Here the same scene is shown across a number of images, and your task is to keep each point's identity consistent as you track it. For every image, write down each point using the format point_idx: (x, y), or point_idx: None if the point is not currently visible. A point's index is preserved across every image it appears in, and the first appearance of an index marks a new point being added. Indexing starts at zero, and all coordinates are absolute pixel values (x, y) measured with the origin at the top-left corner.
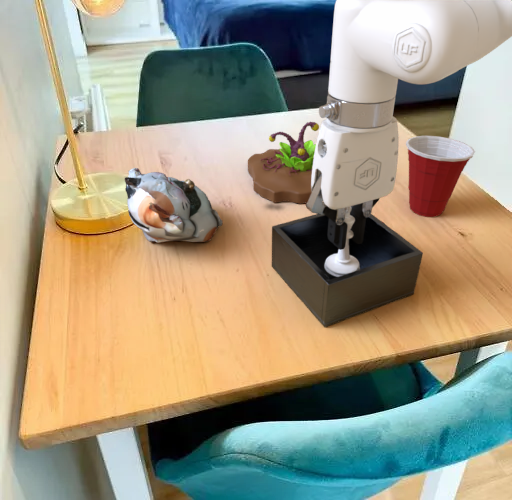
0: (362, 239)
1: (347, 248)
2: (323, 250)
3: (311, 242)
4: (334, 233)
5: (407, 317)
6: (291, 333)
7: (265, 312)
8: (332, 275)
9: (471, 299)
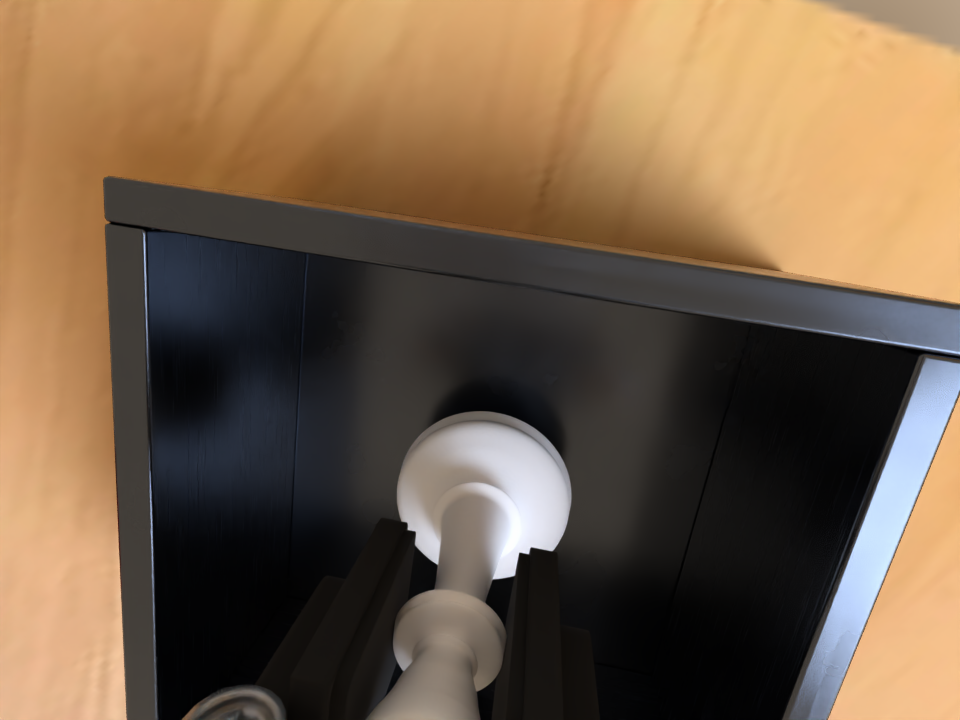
0: (376, 533)
1: (464, 545)
2: None
3: (484, 696)
4: (596, 697)
5: (427, 100)
6: None
7: None
8: None
9: (96, 16)
